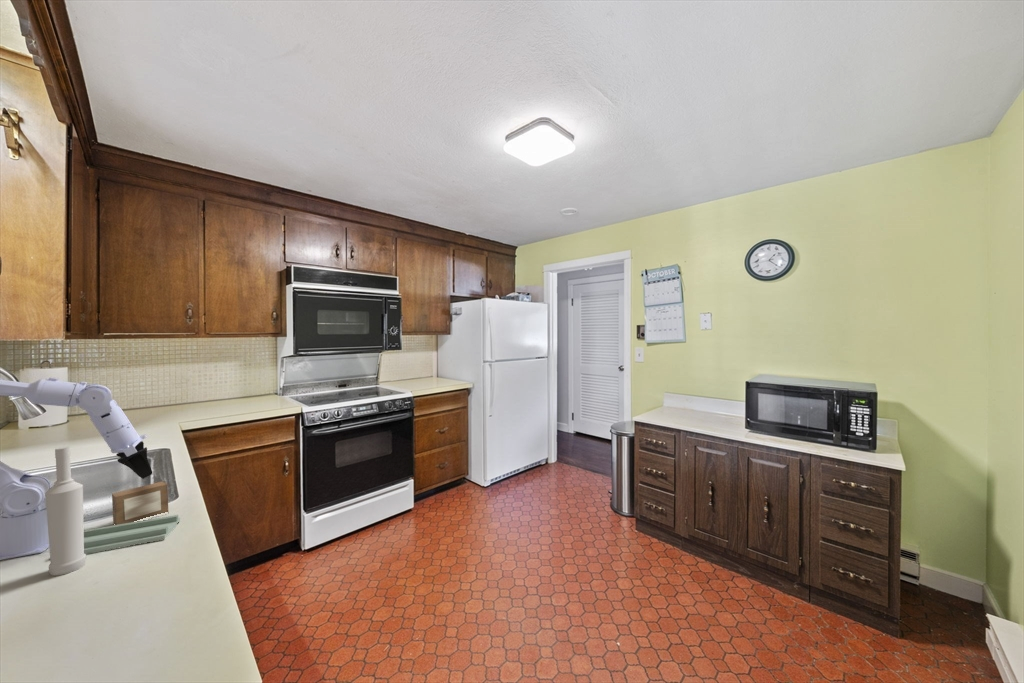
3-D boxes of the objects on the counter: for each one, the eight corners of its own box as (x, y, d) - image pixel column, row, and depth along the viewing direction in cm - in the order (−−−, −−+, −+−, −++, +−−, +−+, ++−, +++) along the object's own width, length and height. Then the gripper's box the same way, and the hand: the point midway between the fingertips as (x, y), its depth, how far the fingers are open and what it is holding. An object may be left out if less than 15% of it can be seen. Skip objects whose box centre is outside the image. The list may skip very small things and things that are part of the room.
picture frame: (116, 529, 99) (115, 497, 99) (113, 524, 101) (111, 493, 101) (168, 513, 107) (167, 484, 107) (164, 510, 109) (162, 481, 109)
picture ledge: (58, 559, 85) (58, 549, 85) (85, 537, 95) (84, 528, 94) (164, 539, 93) (164, 530, 93) (180, 521, 102) (179, 513, 102)
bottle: (61, 577, 79) (55, 452, 78) (41, 575, 80) (35, 451, 79) (93, 562, 84) (88, 444, 83) (74, 560, 85) (69, 443, 84)
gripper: (138, 423, 97) (168, 468, 101) (133, 417, 107) (161, 459, 111) (100, 439, 93) (133, 487, 96) (99, 431, 103) (129, 475, 106)
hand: (146, 473), depth 103 cm, fingers open, 7 cm apart
